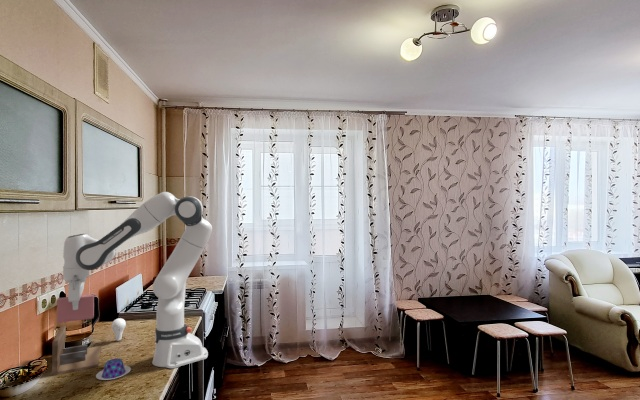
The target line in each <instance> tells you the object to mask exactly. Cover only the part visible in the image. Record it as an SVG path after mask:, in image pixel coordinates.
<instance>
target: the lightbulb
mask: <svg viewBox="0 0 640 400" xmlns="http://www.w3.org/2000/svg"><path fill="white" fill-rule="evenodd" d="M126 325H127V323H126V320H125V319H124V318H121V317H120V318H119V317H118V318H116V319H114V320H113V321H112V323H111V329H112V330H113V331H114V332H113V333H114V336H115V341H117V342H119V341H121V340H122V338H123V337H122V336H123V332H124V329H125V328H126Z"/></svg>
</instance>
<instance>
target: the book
mask: <svg viewBox="0 0 640 400" xmlns="http://www.w3.org/2000/svg"><path fill="white" fill-rule="evenodd" d="M94 317H95V293H93V294H85V295H83V294H82V295H81V298H80V300H79V302H78V309H77V310H73V305H72V302H69V301H68V296H65V297H58V299H57V301H56V323H57V324H61V323H62V324H63V323H68V322H75V321H76V322H77V321H84V320H89V319H90V320H91V319H94Z"/></svg>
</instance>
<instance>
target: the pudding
mask: <svg viewBox="0 0 640 400" xmlns="http://www.w3.org/2000/svg"><path fill="white" fill-rule="evenodd" d="M131 370H132V368H131V367H130V366H129V365H124V361H123V359H122V358H118V357H117V358H112V359H109V360H107V361H106V362H105V364H104V367H103V369H102V370H100V371H99V372H97V373H96V375H95V378H96V379H98V380H100V381H106V380H107V381H108V380H115V379H118V378H121V377H124V376H126V375H127V374H129V373H130V371H131Z"/></svg>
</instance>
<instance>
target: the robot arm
mask: <svg viewBox="0 0 640 400" xmlns="http://www.w3.org/2000/svg"><path fill="white" fill-rule="evenodd" d="M203 214H204V204H203V202H202V201H201V200H200V199H198V198H197V197H195V196H191V195H190V196H189V195H188V196H182V197H181V198H177V197H176V196H175V195H174V194H173V193H171V192H169V191H161V192H160V193H158V194H155V195H154V196H153V197H150V198H149V199H148V200H146V201H145V202H143V203H142V204H141V205H139V207H137V208H136V209H135V210H134V211H133V212H132V213H131V214H129V216H128V217H127V218H125V220H124V221H123V222H121V223H120V224H119V225H118V226H117V227H115V228H114V229H113V230H111V231H110V232H108V233H107V234H106V235H104V236H103V237H102V238H100V239H97V238H94V237H92V236H90V235H89V234H88V233H80V234H74V235H70V236H67V237H66V239H64V240H65V241H64V243H63V250H62V251H63V253H62V254H63V255H62V258H63V260H64V261H63V262H64V264H63V265H62V269H63V270H62V273H63V275H62V277H63V278H62V279H63V280H65V281H66V283H67V284H68V290H67V291H68V292H67V297H68V301H69V302H72V305H73V310H77V309H78V302H79V300H80V298H81V296H82V295H83V293H84V289H85V283H86V281H87V278H90V271H94V270H97V269H99V268H100V267H102V266H104V265H106V264H108V263H111V262H112V261H113V260H114V259H115V257H116V253H117V251H116V250H117V248H119V246H122V245H123V243H125V242H126V241H128V240H130V239H131V238H134V237H136V236H139V235H142V234H144V233H147V232H149V231H152V230H153V229H155V228H157V227H158V226H160V225H161V224H162V223H164V222H165V221H166V220H168V219H169V218H170V217H172V216H176V217H177V218H178V219H179V220H180V221H181V222H182V223H183V224H184V225H185V230H184V231H183V233H182V235H181V237H180V238H179V239H178V242H177V244H176V245H175V247H174V249H173V250H172V253H170V255H169V256H168V259H167V260H166V261H165V262H164V265H163V267H162V268H161V270H160V271H159V273H158V274H157V276H156V278H154V281H153V285H152V292H153V294H154V295H155V296H156V297H157V298H158V301H157V306H156V328H155V332H154V341H155V350H154V355H153V359H152V361H151V363H152V365H153V366H155V367H159V368H168V369H175V368H179V367H181V366H185V365H188V364H193V363H195V362H199V361H202V360H206V359H207V358H208V356H209V352H208V350H207V348H206V347H204V346H203V343H202V340H201V339H200V338H199V337H197V336H196V335H194V334H193V333H191V332H192V328H191V326H189V325H188V324H187V323H186V324H185V302H186V301H185V300H186V288H187V279H188V278H189V276H190V274H191V272H192V271H193V269H194V268H195V266H196V264H197V262H198V261H199V259H200V257H201V255H202V253H203V252H204V250H205V248H206V246H207V245H208V242H209V240H210V238H211V235H212V232H213V226H212V224H211V223H210V222H209V220H207V219H205V218H204V217H203Z"/></svg>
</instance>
